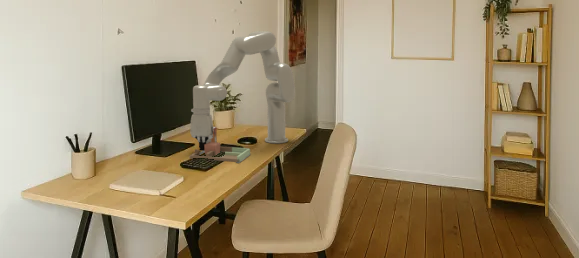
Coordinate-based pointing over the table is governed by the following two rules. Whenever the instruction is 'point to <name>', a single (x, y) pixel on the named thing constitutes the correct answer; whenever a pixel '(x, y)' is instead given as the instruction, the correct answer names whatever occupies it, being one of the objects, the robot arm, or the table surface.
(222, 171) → the table surface
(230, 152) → the tray
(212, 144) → the block
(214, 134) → the small box
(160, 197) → the table surface
